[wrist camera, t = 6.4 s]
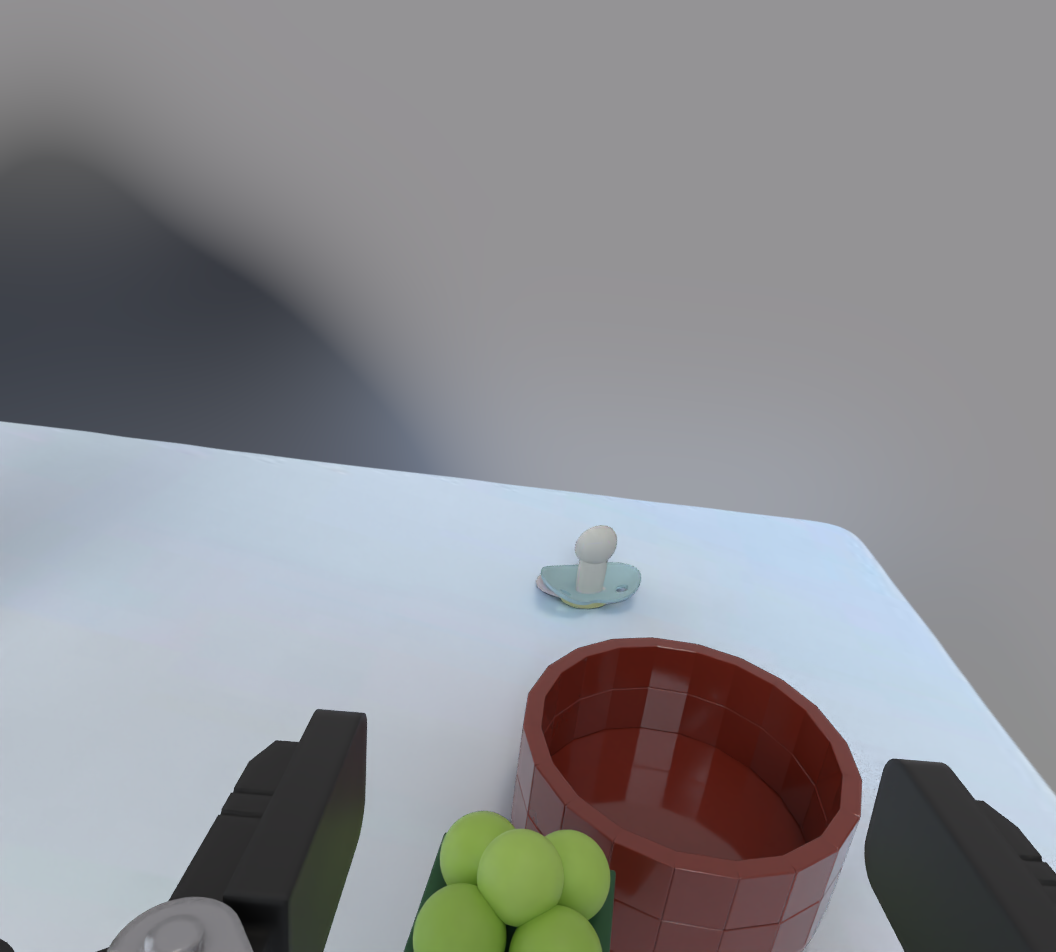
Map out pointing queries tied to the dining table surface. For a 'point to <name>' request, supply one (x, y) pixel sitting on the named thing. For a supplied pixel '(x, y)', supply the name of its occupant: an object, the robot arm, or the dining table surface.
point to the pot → (691, 793)
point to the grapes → (514, 891)
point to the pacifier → (591, 573)
